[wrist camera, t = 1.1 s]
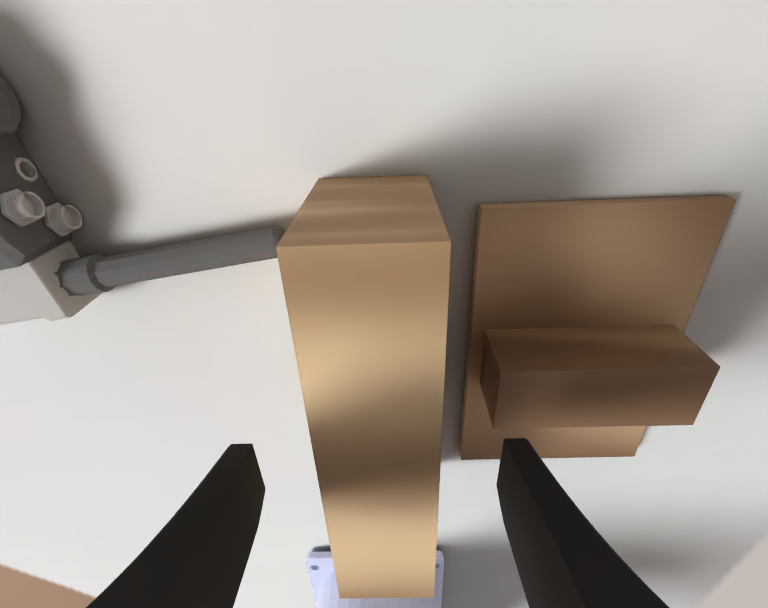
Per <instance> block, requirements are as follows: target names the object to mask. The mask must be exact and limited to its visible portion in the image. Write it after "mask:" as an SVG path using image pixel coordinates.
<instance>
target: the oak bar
mask: <svg viewBox="0 0 768 608" xmlns="http://www.w3.org/2000/svg"><path fill="white" fill-rule="evenodd" d="M276 250H277V255H278V261H279V266H280V272H281V277H282V283H283V289H284V294H285V300H286V305H287V311H288V316H289V322H290V327H291V333H292V338H293V344H294V349H295V355H296V360H297V366H298V371H299V377H300V382H301V388H302V393H303V399H304V404H305V410H306V415H307V421H308V427H309V432H310V438H311V443H312V449H313V454H314V460H315V465H316V471H317V476H318V482H319V487H320V493H321V498H322V504H323V509H324V515H325V520H326V526H327V531H328V537H329V542H330V548H331V554H332V559H333V565H334V570H335V576H336V581H337V587H338V592H339V598H340V599H352V598H434V586H435V565H436V544H437V524H438V503H439V483H440V462H441V441H442V421H443V400H444V379H445V359H446V338H447V317H448V297H449V276H450V256H451V239H450V237H449V234H448V231H447V229H446V226H445V223H444V220H443V218H442V215H441V212H440V209H439V207H438V204H437V201H436V199H435V196H434V193H433V190H432V188H431V185H430V182H429V179H428V177H427V175H408V176H380V177H352V178H324V179H318V181H317V182H316V184H315V185H314V187H313V189H312V190H311V192H310V193H309V195H308V196H307V198H306V200H305V201H304V203H303V204H302V206H301V208H300V209H299V211H298V212H297V214H296V216H295V217H294V219H293V220H292V222H291V224H290V225H289V227H288V228H287V230H286V232H285V233H284V235H283V236H282V238H281V240H280V241H279V243H278V244H277V246H276Z"/></svg>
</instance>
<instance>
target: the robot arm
mask: <svg viewBox="0 0 768 608" xmlns="http://www.w3.org/2000/svg"><path fill="white" fill-rule="evenodd" d="M497 490H498V495H499V501H500V506H501V511H502V516H503V521H504V525H505V528H506V532H507V535H508V539H509V542H510V545H511V549H512V552H513V555H514V559H515V562H516V565H517V568H518V572H519V575H520V578H521V582H522V585H523V588H524V591H525V595H526V598H527V601H528V605H529V608H669V607H668V606H667V605H666V604H665V603H664V602H663V601H662V600H661V599H660V598H659V597H658V596H657V595H656V594H655V593H654V592H653V591H652V590H651V589H650V588H649V587H648V586H647V585H646V584H645V583H644V582H643V581H642V580H641V579H640V578H639V577H638V576H637V575H636V574H635V573H634V572H633V571H632V570H631V568H630V567H629V566H628V565H627V564H626V563H625V562H624V561H623V560H622V559H621V558H620V557H619V556H618V554H617V553H616V552H615V551H614V550H613V549H612V548H611V547H610V546H609V544H608V543H607V542H606V541H605V540H604V539H603V537H602V536H601V535H600V534H599V533H598V532H597V531H596V529H595V528H594V527H593V526H592V525H591V523H590V522H589V521H588V520H587V519H586V517H585V516H584V515H583V514H582V512H581V511H580V510H579V509H578V507H577V506H576V505H575V504H574V502H573V501H572V500H571V499H570V497H569V496H568V495H567V494H566V492H565V491H564V490H563V488H562V487H561V486H560V484H559V483H558V482H557V480H556V479H555V478H554V476H553V475H552V473H551V472H550V471H549V469H548V468H547V467H546V465H545V464H544V462H543V461H542V459H541V458H540V457H539V455H538V454H537V452H536V451H535V449H534V448H533V446H532V445H531V443H530V442H529V441H528V440H527V439H526V438H506V439H504V441H503V447H502V454H501V460H500V466H499V473H498V479H497ZM264 494H265V486H264V482H263V479H262V475H261V472H260V469H259V465H258V462H257V458H256V455H255V452H254V448H253V445H252V444H231V445H230V446H229V447H228V448H227V449H226V451H225V452H224V453H223V455H222V456H221V457H220V459H219V460H218V461H217V462H216V464H215V465H214V466H213V468H212V469H211V470H210V472H209V473H208V474H207V475H206V477H205V478H204V479H203V481H202V482H201V483H200V484H199V486H198V487H197V488H196V489H195V491H194V492H193V493H192V494H191V496H190V497H189V498H188V499H187V500H186V502H185V503H184V504H183V505H182V506H181V508H180V509H179V510H178V511H177V513H176V514H175V515H174V516H173V517H172V518H171V520H170V521H169V522H168V523H167V524H166V525H165V526H164V528H163V529H162V530H161V531H160V532H159V533H158V534H157V535H156V537H155V538H154V539H153V540H152V541H151V542H150V543H149V545H148V546H147V547H146V548H145V549H144V550H143V551H142V552H141V553H140V554H139V555H138V556H137V558H136V559H135V560H134V561H133V562H132V563H131V564H130V565H129V566H128V567H127V568H126V569H125V570H124V571H123V572H122V573H121V574H120V575H119V576H118V577H117V578H116V579H115V580H114V581H113V582H112V583H111V584H110V585H109V586H108V587H107V588H106V589H105V590H104V591H103V592H102V593H101V594H100V595H99V596H98V597H97V598H96V599H95V600H94V601H93V602H91V603H90V604H89V605H88V606H87V607H86V608H233V605H234V602H235V599H236V596H237V593H238V590H239V586H240V583H241V580H242V577H243V574H244V570H245V567H246V564H247V561H248V558H249V555H250V551H251V548H252V545H253V542H254V538H255V535H256V532H257V528H258V525H259V520H260V515H261V510H262V505H263V499H264ZM305 563H306V567H307V571H308V575H309V579H310V583H311V587H312V591H313V595H314V599H315V603H316V608H441V603H442V587H443V571H444V555H443V553H442V552H441V551H439V550H436V565H435V586H434V598H352V599H340V598H339V592H338V587H337V581H336V576H335V570H334V565H333V559H332V554H331V551H324V552H310V553H308V554H307V555H306V561H305Z"/></svg>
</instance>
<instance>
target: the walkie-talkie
mask: <svg viewBox="0 0 768 608" xmlns="http://www.w3.org/2000/svg"><path fill="white" fill-rule="evenodd" d="M18 125H21V109H20V106H19V103H18V100H17V97H16V95H15V94H14V92H13V90H12V89H11V87H10V86H9V84H8V83H7V82H6V81H5V80H4V79H3V78H2V77H1V76H0V325H2V324H8V323H15V322H21V321H27V320H33V319H39V318H45V319H48V320H58V319H63V318H69V317H72V316H74V315H75V314H76V313H77V312H79V311H80V310H81V309H82V308H84V307H85V306H86V305H87V304H89V303H90V302H91V301H92V300H94V299H95V298H96V297H98V296H99V295H100V293H101V292H107V291H110V290H111V289H113V288H114V286H117V285H123V284H129V283H135V282H140V281H146V280H152V279H158V278H163V277H169V276H175V275H181V274H186V273H192V272H198V271H203V270H209V269H215V268H221V267H226V266H232V265H238V264H244V263H249V262H255V261H261V260H267V259H272V258H278V255H277V250H276V246H277V244H278V243H279V241H280V240H281V238H282V236H283V235H284V233H285V232H286V230H285V229H284V228H282V227H278V226H272V227H266V228H261V229H255V230H250V231H244V232H239V233H233V234H228V235H222V236H216V237H211V238H205V239H200V240H194V241H189V242H183V243H178V244H172V245H166V246H161V247H155V248H150V249H144V250H139V251H133V252H128V253H122V254H116V255H111V256H103V255H99V254H94V255H89V256H83V257H80V256H79V255H78V253H77V251H76V250H75V248H74V246H73V245H72V243H71V241H69V238H70V236H71V235H72V233H73V231H74V230H76V229H78V228H80V227H81V226H82V216H81V214H80V212H79V211H78V210H77V209H76V208H75V207H73V206H72V205H63V206H62V205H61V204H60V203H59V202H57V200H56V198H55V197H54V195H53V193H52V192H51V190H50V188H49V186H48V185H47V183H46V181H45V180H44V178H43V176H42V175H41V173H40V171H39V170H38V168H37V166H36V165H35V163H34V161H33V159H32V158H31V156H30V154H29V153H28V151H27V149H26V148H25V146H24V144H23V143H22V141H21V139H20V138H19V136H18V134H17V132H16V131H17V128H18Z"/></svg>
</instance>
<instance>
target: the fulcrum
mask: <svg viewBox="0 0 768 608" xmlns="http://www.w3.org/2000/svg"><path fill="white" fill-rule="evenodd" d="M735 201H736V199H734V198H732V197H729V196H726V195H710V196H682V197H654V198H626V199H598V200H571V201H543V202H515V203H487V204H479V209H478V222H477V234H476V247H475V260H474V273H473V285H472V298H471V311H470V323H469V336H468V349H467V362H466V374H465V387H464V400H463V413H462V425H461V438H460V457H461V460H471V459H501V454H502V447H503V441H504V439H506V438H526V439H527V440H528V441H529V442H530V443H531V445H532V446H533V448H534V449H535V451H536V452H537V454H538V455H539V457H540V458H574V457H625V456H635V453H636V451H637V448H638V446H639V443H640V441H641V438H642V436H643V433H644V431H645V428H646V426H661V425H693V423H694V421H695V419H696V417H697V415H698V413H699V411H700V409H701V406H702V404H703V402H704V400H705V398H706V396H707V394H708V392H709V390H710V388H711V385H712V383H713V381H714V379H715V377H716V375H717V373H718V371H719V369H720V366H719V365H718V364H717V363H716V362H714V361H713V360H712V359H711V358H710V357H709V356H708V355H707V354H706V353H704V352H703V351H702V350H701V349H700V348H699V347H698V346H697V345H695V344H694V343H693V342H692V341H691V340H690V339H689V338H688V337H687V336H685V335H684V334H683V332H684V330H685V327H686V325H687V322H688V320H689V317H690V315H691V312H692V310H693V307H694V305H695V302H696V300H697V297H698V295H699V292H700V290H701V287H702V284H703V282H704V279H705V277H706V274H707V272H708V269H709V267H710V264H711V262H712V259H713V257H714V254H715V252H716V249H717V247H718V244H719V242H720V239H721V237H722V234H723V231H724V229H725V226H726V224H727V221H728V219H729V216H730V214H731V211H732V209H733V206H734V204H735Z"/></svg>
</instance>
